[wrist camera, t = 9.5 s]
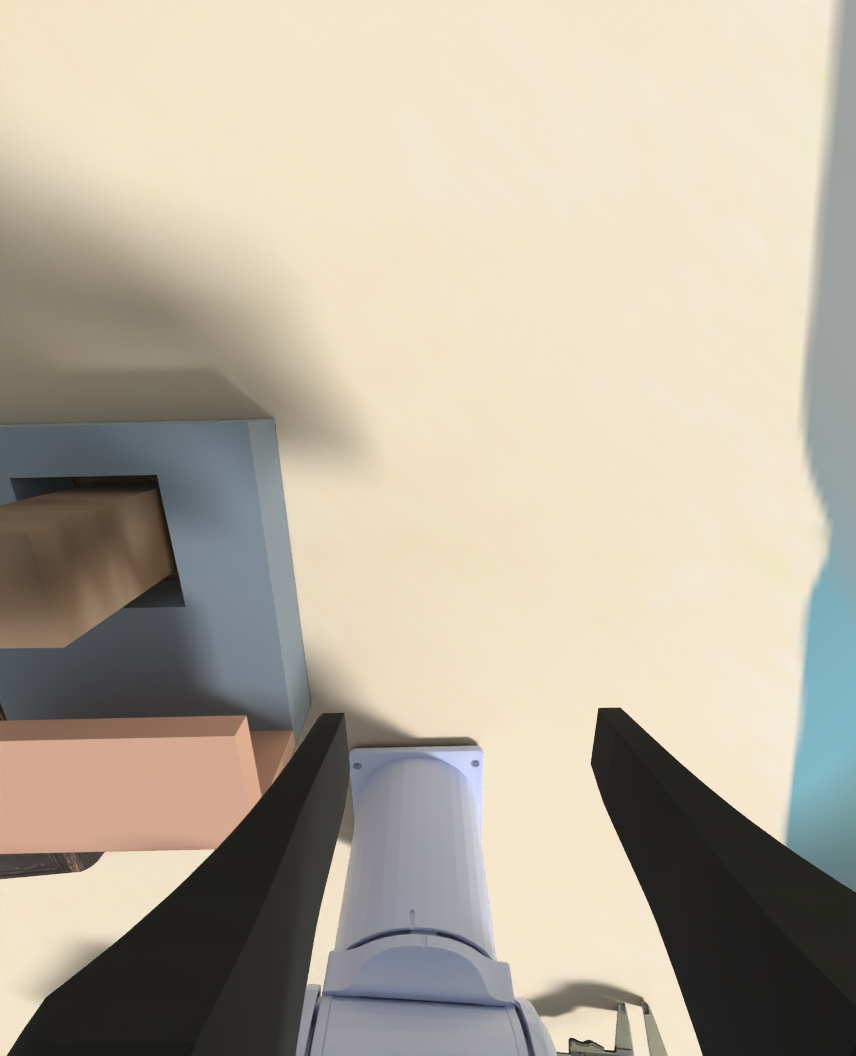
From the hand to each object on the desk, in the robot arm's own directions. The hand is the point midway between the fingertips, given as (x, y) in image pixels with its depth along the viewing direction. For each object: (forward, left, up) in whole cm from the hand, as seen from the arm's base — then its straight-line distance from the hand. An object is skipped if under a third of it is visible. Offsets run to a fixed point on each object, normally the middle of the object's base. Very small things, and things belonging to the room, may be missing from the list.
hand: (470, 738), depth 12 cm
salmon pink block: (-5, +15, -7) cm, 17 cm away
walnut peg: (+4, +15, -10) cm, 19 cm away
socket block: (0, +15, -10) cm, 18 cm away
